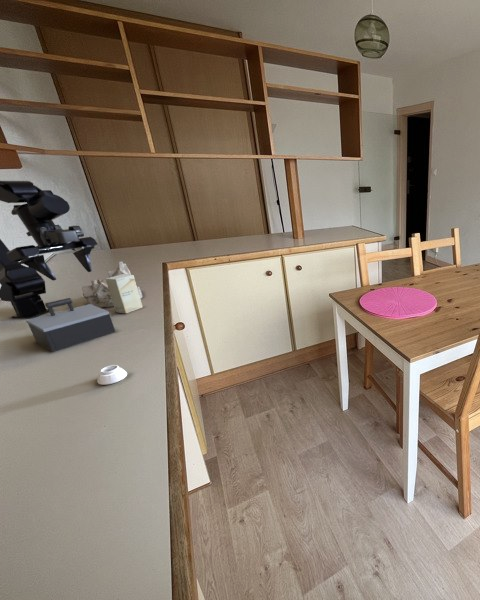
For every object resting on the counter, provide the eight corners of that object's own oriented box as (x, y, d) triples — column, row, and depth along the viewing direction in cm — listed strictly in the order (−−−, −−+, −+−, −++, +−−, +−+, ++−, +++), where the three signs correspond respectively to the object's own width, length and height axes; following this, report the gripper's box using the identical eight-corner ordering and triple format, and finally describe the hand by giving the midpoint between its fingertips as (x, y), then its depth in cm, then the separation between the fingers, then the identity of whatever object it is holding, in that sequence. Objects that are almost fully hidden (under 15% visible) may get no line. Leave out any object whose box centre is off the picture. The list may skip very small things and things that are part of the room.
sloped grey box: (36, 342, 86) (28, 323, 84) (98, 324, 98) (92, 307, 96) (52, 352, 82) (44, 332, 80) (115, 331, 93) (109, 314, 91)
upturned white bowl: (129, 378, 72) (124, 370, 75) (126, 368, 71) (120, 360, 74) (101, 389, 68) (96, 380, 71) (96, 377, 67) (92, 369, 70)
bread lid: (26, 322, 85) (19, 307, 83) (90, 306, 96) (85, 292, 94) (44, 332, 80) (37, 315, 78) (109, 313, 91) (104, 299, 90)
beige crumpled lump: (144, 289, 127) (131, 253, 121) (141, 303, 115) (125, 264, 109) (94, 298, 120) (77, 260, 113) (84, 314, 107) (64, 273, 101)
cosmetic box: (126, 314, 105) (115, 279, 101) (115, 312, 106) (104, 278, 102) (143, 307, 111) (134, 274, 107) (133, 306, 112) (123, 273, 107)
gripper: (13, 220, 79) (51, 277, 83) (94, 213, 96) (122, 261, 100) (-12, 233, 82) (27, 287, 86) (71, 224, 99) (99, 270, 103)
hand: (73, 275), depth 94 cm, fingers open, 9 cm apart
